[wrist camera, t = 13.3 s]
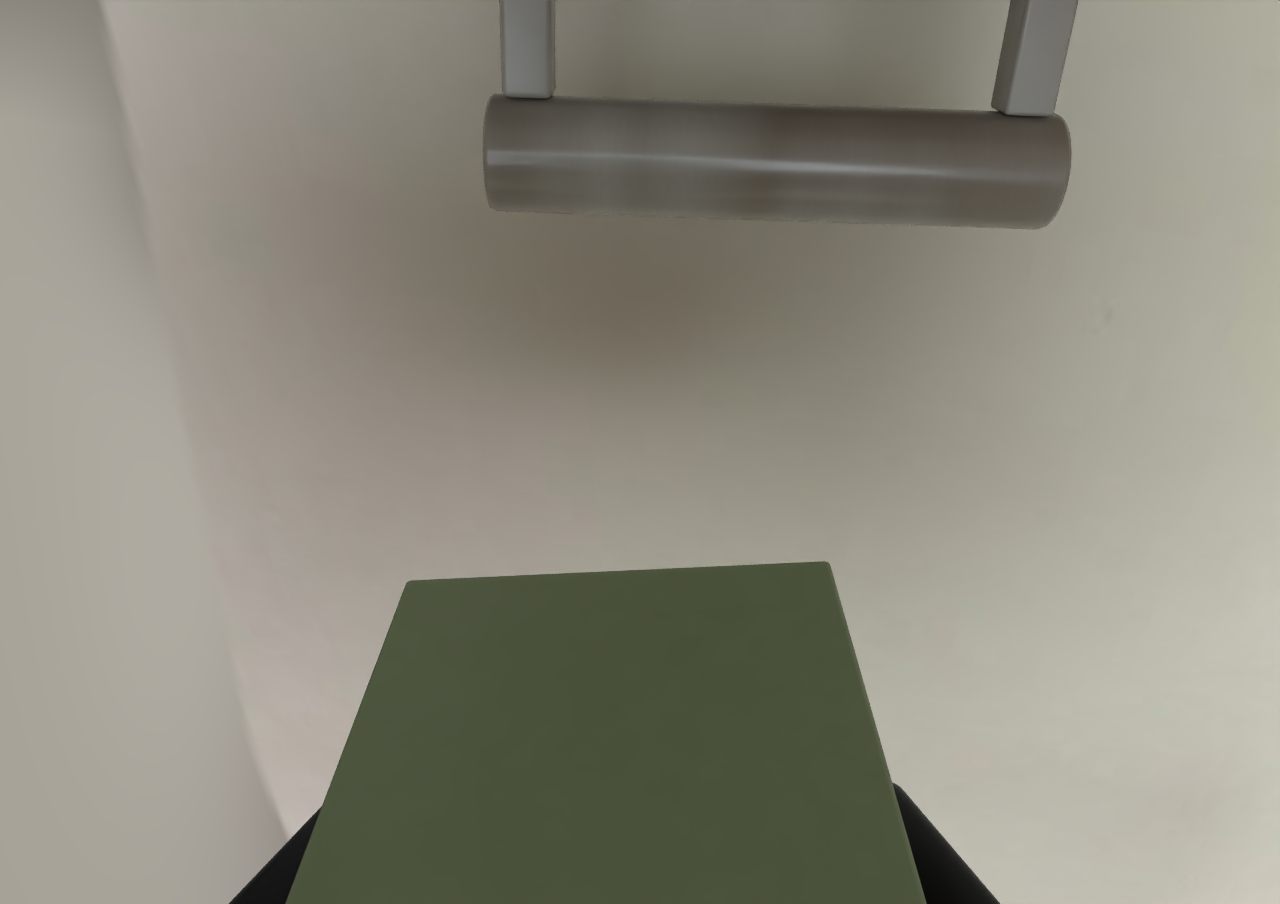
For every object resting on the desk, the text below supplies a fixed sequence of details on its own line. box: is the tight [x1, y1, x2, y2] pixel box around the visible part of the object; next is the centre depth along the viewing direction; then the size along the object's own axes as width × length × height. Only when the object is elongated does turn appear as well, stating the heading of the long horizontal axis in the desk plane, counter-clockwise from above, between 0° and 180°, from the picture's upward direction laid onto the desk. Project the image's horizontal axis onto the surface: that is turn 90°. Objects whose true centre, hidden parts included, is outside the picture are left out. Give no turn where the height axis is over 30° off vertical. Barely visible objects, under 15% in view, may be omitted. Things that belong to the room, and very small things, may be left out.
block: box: [285, 561, 927, 904], centre depth 8 cm, size 4×4×4 cm
